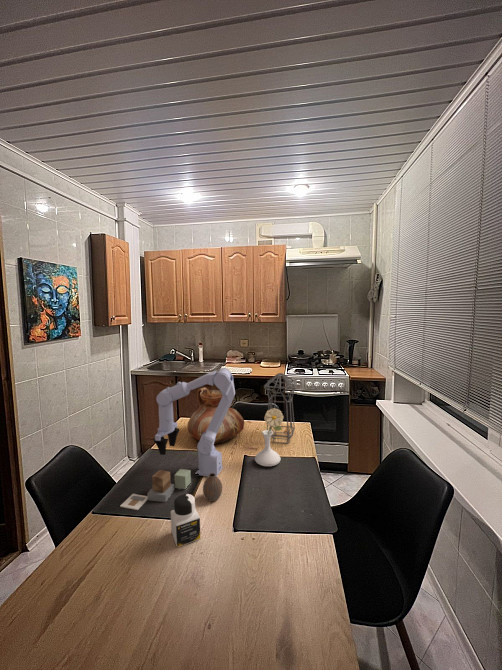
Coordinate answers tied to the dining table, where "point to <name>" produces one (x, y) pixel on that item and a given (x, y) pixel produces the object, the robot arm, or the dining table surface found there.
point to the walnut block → (161, 481)
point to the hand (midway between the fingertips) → (167, 450)
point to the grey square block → (160, 494)
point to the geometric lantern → (282, 401)
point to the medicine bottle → (185, 520)
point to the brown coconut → (212, 487)
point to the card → (134, 501)
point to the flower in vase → (267, 454)
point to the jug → (205, 413)
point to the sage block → (182, 478)
